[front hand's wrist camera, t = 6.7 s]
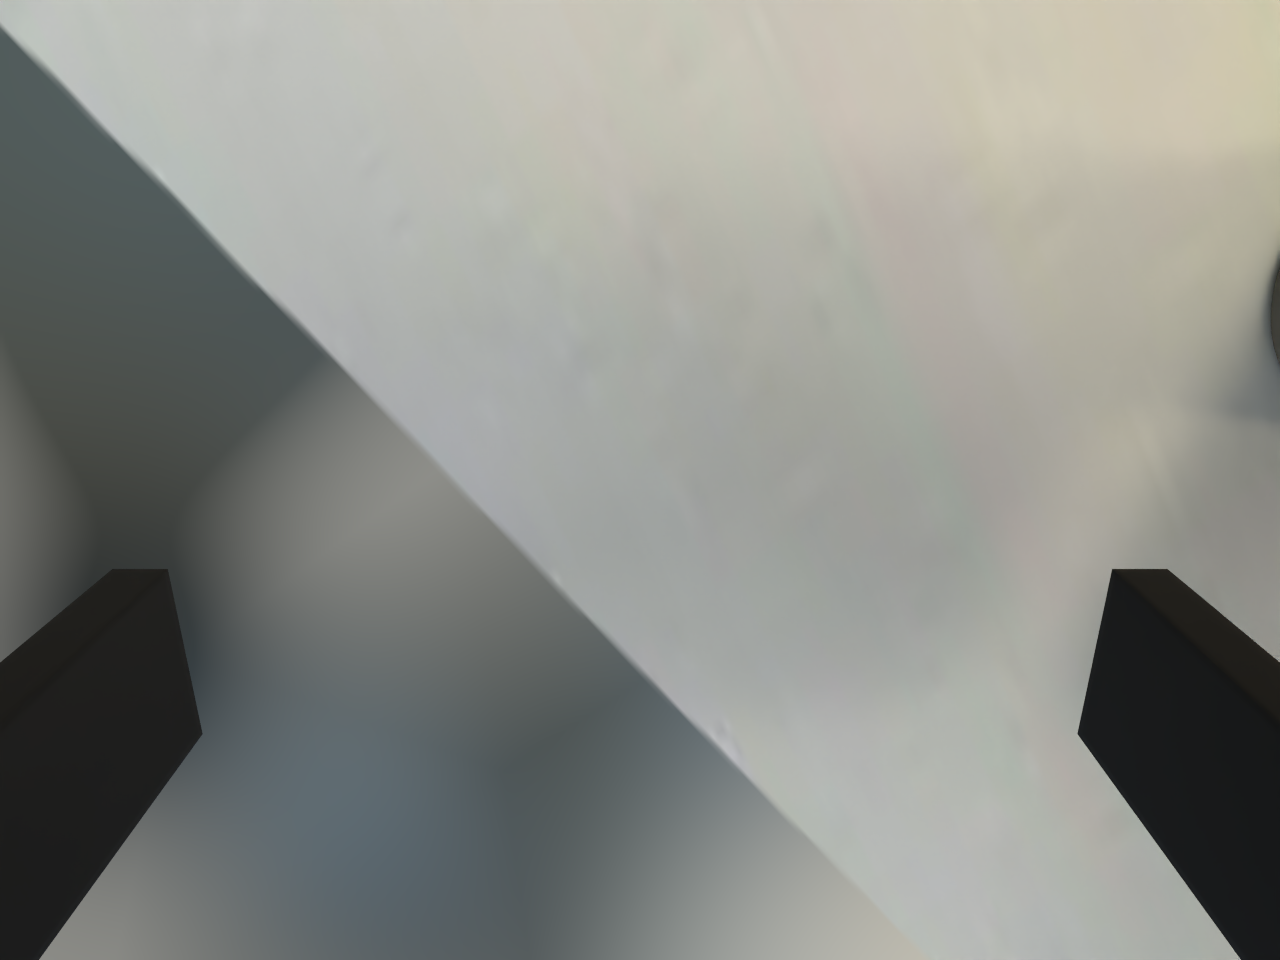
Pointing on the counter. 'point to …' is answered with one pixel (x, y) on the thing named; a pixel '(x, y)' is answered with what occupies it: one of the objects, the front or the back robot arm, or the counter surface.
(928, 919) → the counter surface
